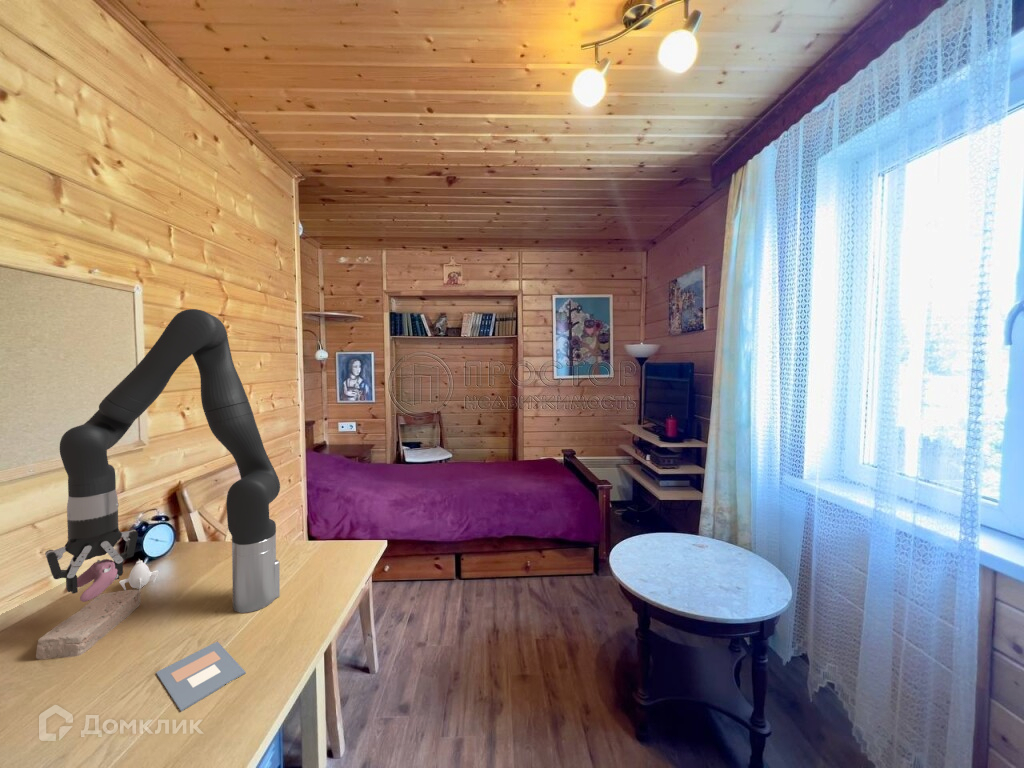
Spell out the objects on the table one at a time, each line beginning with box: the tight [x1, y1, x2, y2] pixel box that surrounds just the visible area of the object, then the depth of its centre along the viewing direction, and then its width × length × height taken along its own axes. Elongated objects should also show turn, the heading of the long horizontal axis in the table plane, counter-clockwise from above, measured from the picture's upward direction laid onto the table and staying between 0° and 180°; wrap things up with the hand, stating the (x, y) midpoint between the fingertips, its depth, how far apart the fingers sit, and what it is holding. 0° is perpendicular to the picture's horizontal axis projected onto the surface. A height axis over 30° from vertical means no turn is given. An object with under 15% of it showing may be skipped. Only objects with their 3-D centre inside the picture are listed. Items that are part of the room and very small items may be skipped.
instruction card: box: [155, 641, 246, 712], centre depth 74 cm, size 10×14×1 cm
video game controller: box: [77, 558, 118, 603], centre depth 84 cm, size 10×5×7 cm, turn 57°
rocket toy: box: [118, 558, 160, 590], centre depth 100 cm, size 5×5×8 cm
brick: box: [35, 589, 142, 660], centre depth 84 cm, size 17×8×5 cm, turn 12°
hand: (95, 584), depth 84 cm, fingers closed on video game controller, 5 cm apart
